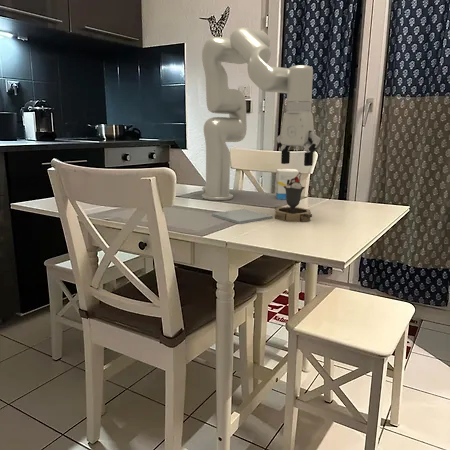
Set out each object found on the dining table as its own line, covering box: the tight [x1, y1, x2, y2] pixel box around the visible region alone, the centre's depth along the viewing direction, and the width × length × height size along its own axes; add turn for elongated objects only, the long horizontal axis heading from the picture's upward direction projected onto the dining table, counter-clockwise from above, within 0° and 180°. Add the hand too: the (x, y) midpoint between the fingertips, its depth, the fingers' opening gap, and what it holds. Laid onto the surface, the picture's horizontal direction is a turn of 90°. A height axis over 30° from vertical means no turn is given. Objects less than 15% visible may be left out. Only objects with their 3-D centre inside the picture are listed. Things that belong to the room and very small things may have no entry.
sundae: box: [284, 171, 305, 213], centre depth 139 cm, size 7×7×15 cm
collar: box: [274, 206, 313, 223], centre depth 141 cm, size 15×11×2 cm
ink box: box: [274, 168, 300, 201], centre depth 177 cm, size 9×8×12 cm
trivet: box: [211, 208, 274, 225], centre depth 141 cm, size 14×14×1 cm
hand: (296, 164), depth 136 cm, fingers open, 9 cm apart
